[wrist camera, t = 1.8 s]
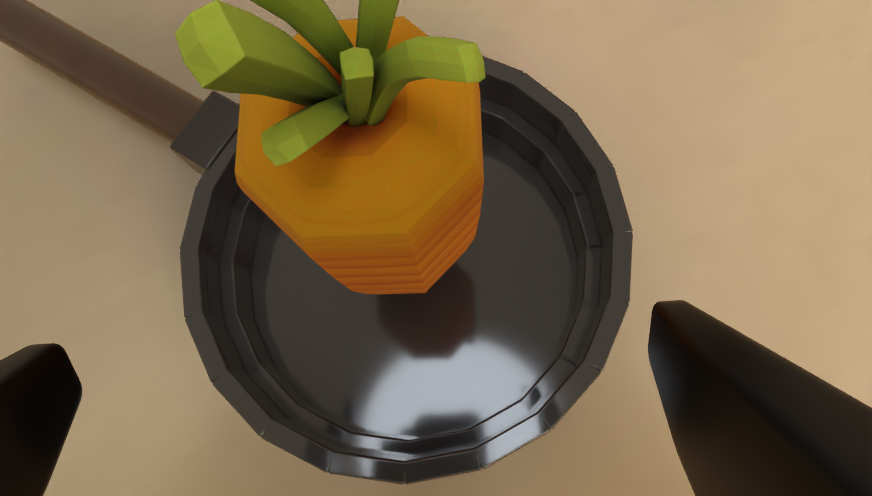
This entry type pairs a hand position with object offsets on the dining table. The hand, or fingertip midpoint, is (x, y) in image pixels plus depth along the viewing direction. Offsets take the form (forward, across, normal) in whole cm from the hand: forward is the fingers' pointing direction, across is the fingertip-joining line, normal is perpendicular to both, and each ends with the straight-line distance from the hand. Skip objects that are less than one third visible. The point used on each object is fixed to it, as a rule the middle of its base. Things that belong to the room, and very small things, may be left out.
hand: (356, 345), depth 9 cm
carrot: (+11, 0, +5) cm, 12 cm away
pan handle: (+15, +10, -1) cm, 18 cm away
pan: (+11, 0, +5) cm, 12 cm away
